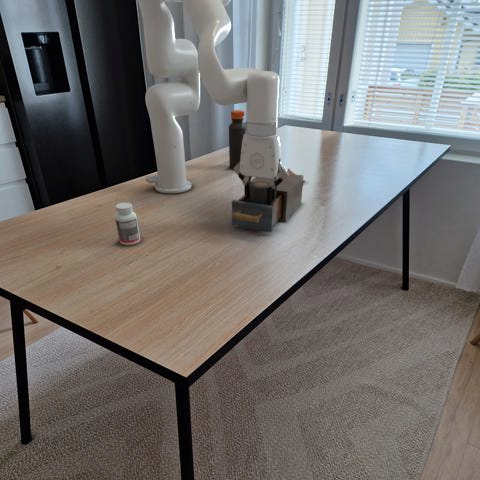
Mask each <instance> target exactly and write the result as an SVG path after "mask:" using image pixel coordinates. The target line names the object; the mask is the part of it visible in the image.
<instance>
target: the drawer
mask: <svg viewBox="0 0 480 480" xmlns="http://www.w3.org/2000/svg"><path fill="white" fill-rule="evenodd" d="M283 205H284V194H277V193H276V199H275V200H274V201H273V202H272V203H269V204H266V205H264V204H257V203H250V202H249V199H248V200H246V195H245V194H243V195H242V196H241V197H240V198H239V199H238V200H237V199H232V200H231V220H232V221H231V222H232V224H231V225H232V226H233V227H238V228H239V227H240V228H246V229H250V230H256V231H263V232H267V233H268V232H269V233H272V232H274V225H275V224H277V222H279V221H278V220H279V219H280V217H281V216H282V215H283Z"/></svg>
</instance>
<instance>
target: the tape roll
mask: <svg viewBox="0 0 480 480" xmlns="http://www.w3.org/2000/svg"><path fill="white" fill-rule="evenodd" d="M269 188H271V185H270V183H268V182H261V181H259V182H253V183H251V184H250V185H249V202H250V203H257V204H264V205H266V204H269V202H268V201H269Z"/></svg>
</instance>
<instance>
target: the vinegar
mask: <svg viewBox="0 0 480 480" xmlns="http://www.w3.org/2000/svg"><path fill="white" fill-rule="evenodd" d="M230 119H231V123H230V124H229V125H228V157H229V159H228V160H229V165H228V166H229V168H230V169H231V170H234V167H235V166H236V165H237V164H238V163H239V162H240V159H241V148H242V141H243V136H244V134H246V133H247V132H246V129H245V128H242V123H245V111H244V110H241V109H235V110H231V111H230Z"/></svg>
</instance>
